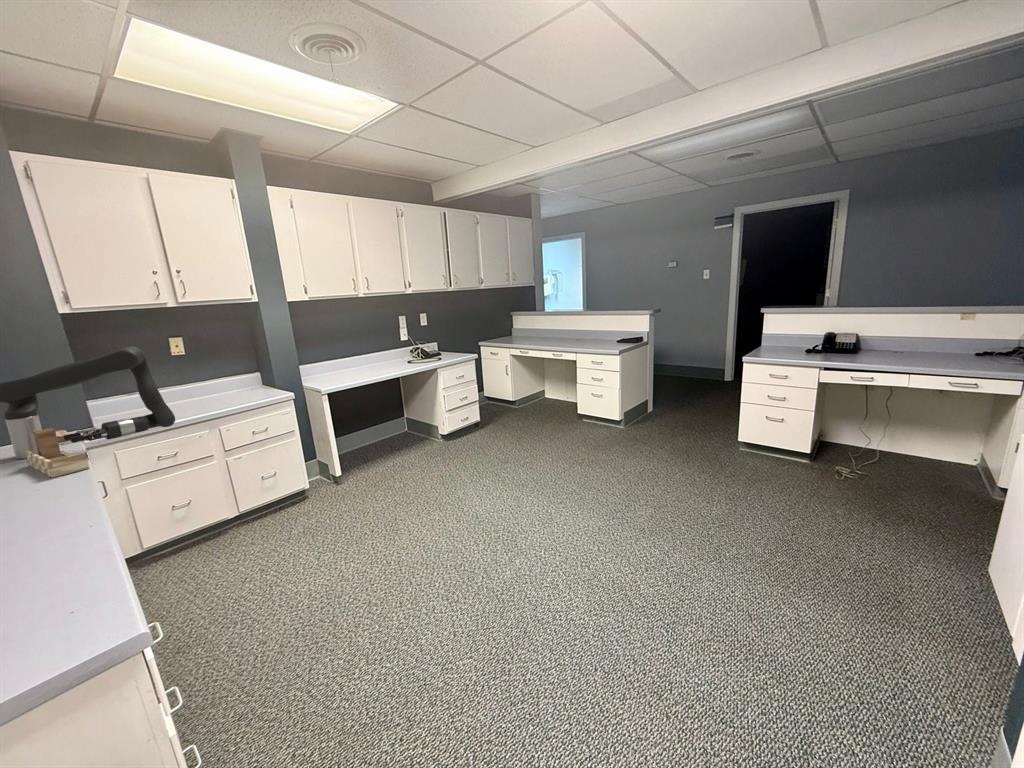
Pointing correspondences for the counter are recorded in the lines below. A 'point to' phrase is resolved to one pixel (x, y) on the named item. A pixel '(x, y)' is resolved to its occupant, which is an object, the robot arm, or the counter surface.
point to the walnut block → (47, 443)
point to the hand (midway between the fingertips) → (67, 439)
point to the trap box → (58, 463)
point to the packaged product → (61, 438)
